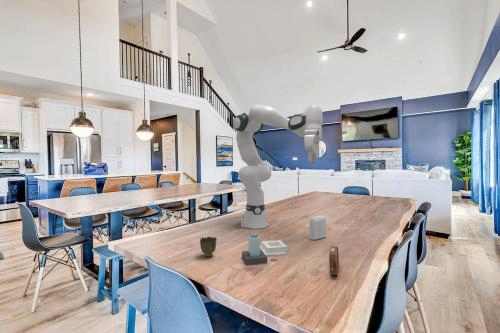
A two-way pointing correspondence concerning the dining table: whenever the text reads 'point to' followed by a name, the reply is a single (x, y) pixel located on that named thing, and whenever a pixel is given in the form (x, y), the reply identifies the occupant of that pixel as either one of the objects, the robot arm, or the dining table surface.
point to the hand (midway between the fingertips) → (311, 163)
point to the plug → (254, 245)
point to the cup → (208, 245)
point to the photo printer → (317, 227)
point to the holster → (254, 258)
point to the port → (274, 248)
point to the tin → (334, 260)
